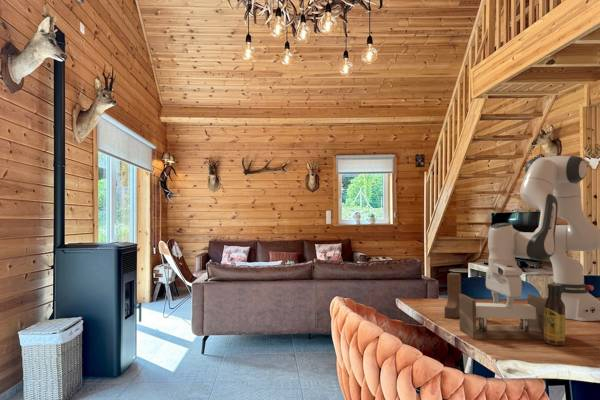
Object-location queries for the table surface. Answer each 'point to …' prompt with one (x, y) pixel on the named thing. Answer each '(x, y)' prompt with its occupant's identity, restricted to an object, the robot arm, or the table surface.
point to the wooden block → (453, 296)
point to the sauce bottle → (554, 316)
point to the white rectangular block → (505, 311)
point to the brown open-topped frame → (528, 331)
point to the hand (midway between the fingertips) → (502, 305)
